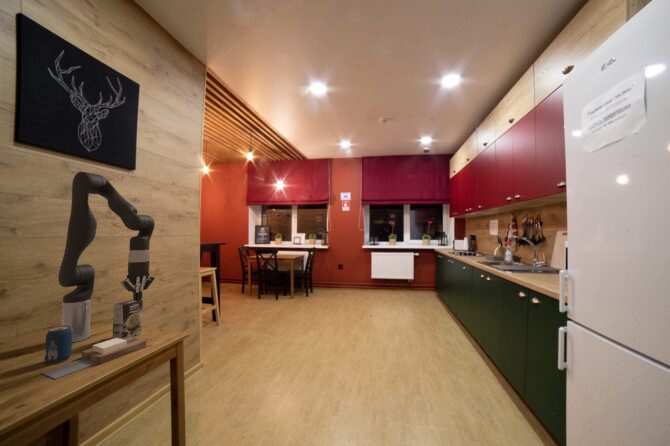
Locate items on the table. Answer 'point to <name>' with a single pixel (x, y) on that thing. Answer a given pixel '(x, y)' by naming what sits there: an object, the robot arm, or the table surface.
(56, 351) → the soda can
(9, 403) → the table surface
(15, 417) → the table surface
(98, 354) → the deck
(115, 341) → the tile
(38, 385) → the table surface
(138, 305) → the coffee box
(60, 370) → the mat
